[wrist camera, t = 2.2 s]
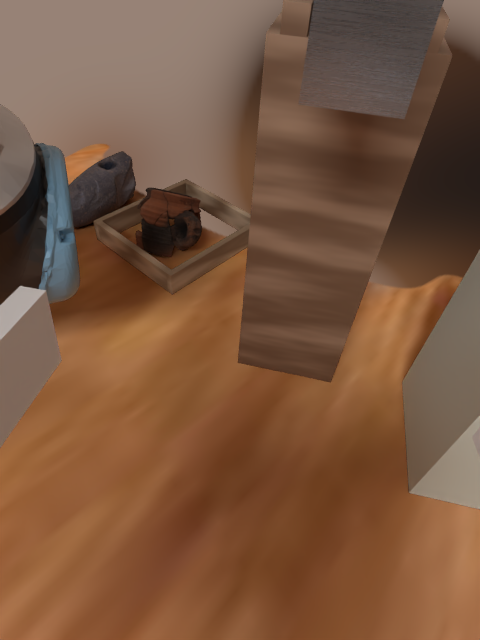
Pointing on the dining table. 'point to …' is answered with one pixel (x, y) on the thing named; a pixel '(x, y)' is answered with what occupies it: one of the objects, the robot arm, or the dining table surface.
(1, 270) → the robot arm
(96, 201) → the perforated stone tool
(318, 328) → the walnut stand
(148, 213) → the pottery mug
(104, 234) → the coaster tray
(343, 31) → the bar
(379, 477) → the dining table surface
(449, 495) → the slotted cradle
